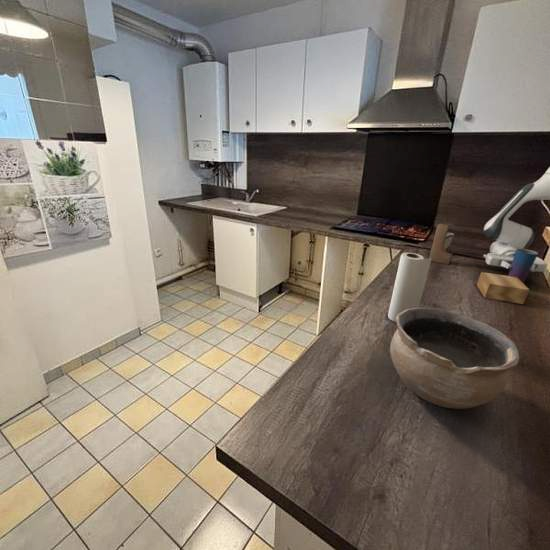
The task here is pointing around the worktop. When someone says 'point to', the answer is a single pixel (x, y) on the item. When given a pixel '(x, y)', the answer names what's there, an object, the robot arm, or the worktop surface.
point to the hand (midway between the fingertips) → (521, 268)
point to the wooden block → (440, 246)
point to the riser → (502, 288)
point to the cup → (522, 263)
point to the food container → (448, 241)
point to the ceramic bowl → (451, 357)
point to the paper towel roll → (408, 283)
